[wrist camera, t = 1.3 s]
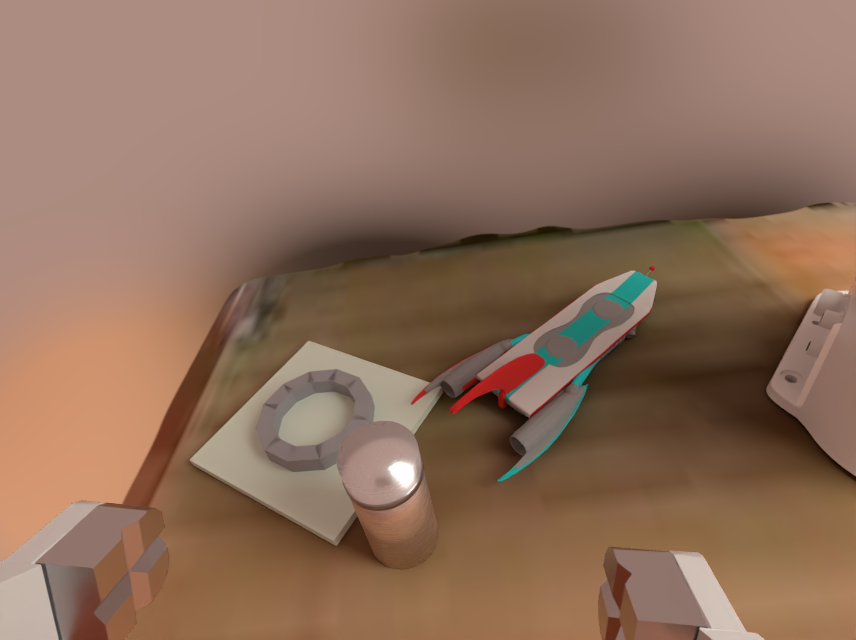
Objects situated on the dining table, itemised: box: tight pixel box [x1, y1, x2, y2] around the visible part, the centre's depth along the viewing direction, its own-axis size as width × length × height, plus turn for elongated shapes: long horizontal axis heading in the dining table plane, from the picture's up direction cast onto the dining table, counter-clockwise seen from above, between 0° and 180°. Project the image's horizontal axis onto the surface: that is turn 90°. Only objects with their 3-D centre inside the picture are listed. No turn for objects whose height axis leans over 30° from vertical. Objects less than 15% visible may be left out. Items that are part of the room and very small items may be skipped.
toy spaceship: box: [411, 266, 657, 482], centre depth 48 cm, size 27×11×5 cm, turn 135°
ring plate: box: [190, 341, 443, 546], centre depth 46 cm, size 16×16×2 cm
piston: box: [337, 421, 438, 569], centre depth 35 cm, size 5×5×10 cm
